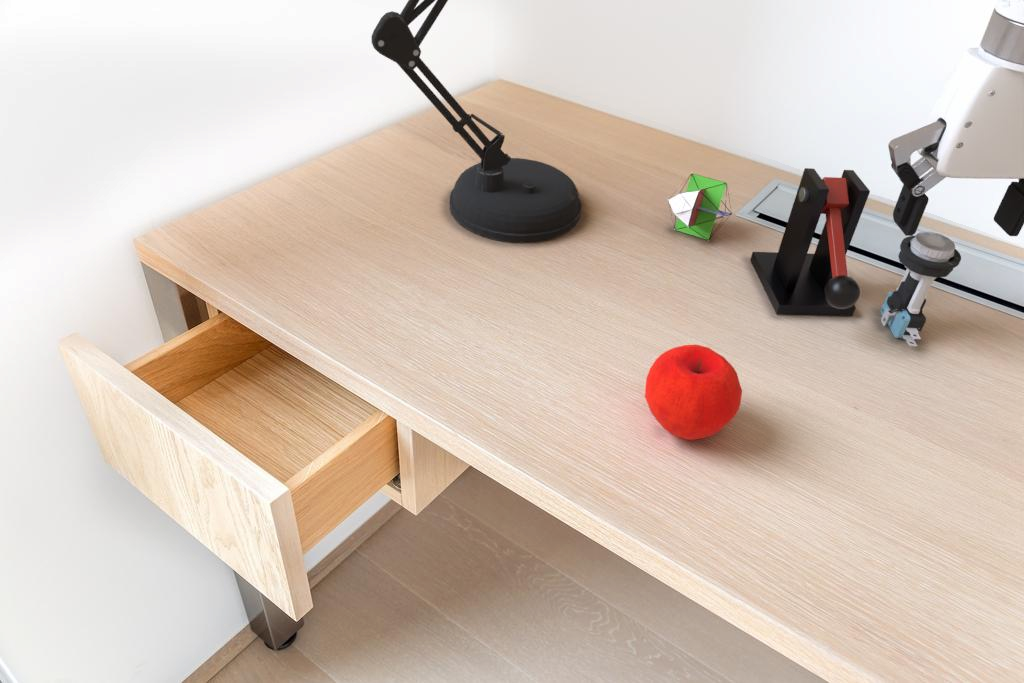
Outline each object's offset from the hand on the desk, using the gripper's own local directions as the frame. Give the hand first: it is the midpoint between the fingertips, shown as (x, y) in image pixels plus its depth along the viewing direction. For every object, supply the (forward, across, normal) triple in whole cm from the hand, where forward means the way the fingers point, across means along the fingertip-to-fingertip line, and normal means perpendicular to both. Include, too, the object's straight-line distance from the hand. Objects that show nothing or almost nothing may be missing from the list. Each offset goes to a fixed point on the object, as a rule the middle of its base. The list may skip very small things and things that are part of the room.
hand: (953, 228), depth 74 cm
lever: (+4, +9, -3) cm, 11 cm away
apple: (+11, +27, +15) cm, 32 cm away
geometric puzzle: (+11, +19, -17) cm, 28 cm away
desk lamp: (+11, +39, -21) cm, 45 cm away
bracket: (+11, +10, -6) cm, 16 cm away
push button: (+12, +2, +1) cm, 12 cm away
